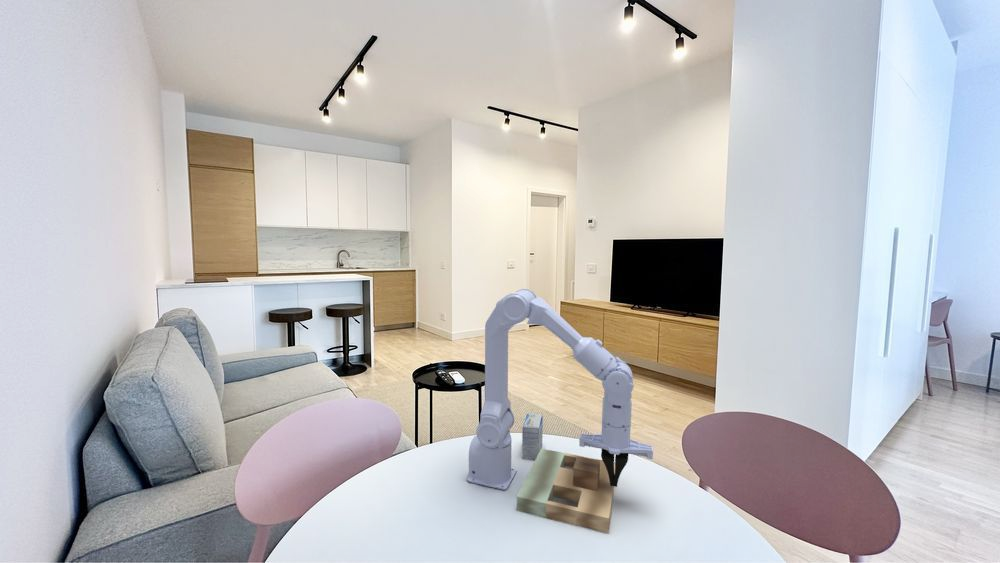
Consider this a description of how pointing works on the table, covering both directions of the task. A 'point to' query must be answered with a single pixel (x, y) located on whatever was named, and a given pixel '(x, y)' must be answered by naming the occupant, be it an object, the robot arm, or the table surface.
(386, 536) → the table surface
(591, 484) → the walnut block
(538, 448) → the medicine box
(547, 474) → the board
